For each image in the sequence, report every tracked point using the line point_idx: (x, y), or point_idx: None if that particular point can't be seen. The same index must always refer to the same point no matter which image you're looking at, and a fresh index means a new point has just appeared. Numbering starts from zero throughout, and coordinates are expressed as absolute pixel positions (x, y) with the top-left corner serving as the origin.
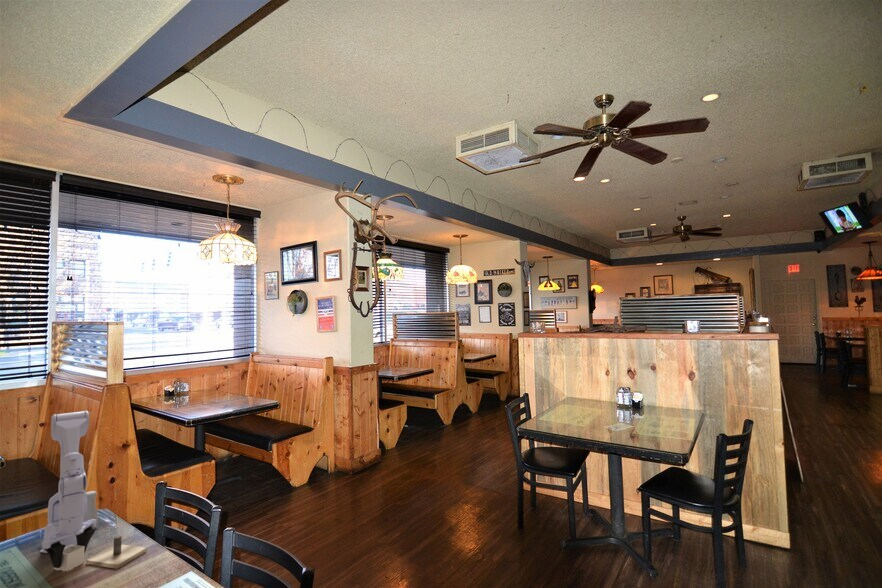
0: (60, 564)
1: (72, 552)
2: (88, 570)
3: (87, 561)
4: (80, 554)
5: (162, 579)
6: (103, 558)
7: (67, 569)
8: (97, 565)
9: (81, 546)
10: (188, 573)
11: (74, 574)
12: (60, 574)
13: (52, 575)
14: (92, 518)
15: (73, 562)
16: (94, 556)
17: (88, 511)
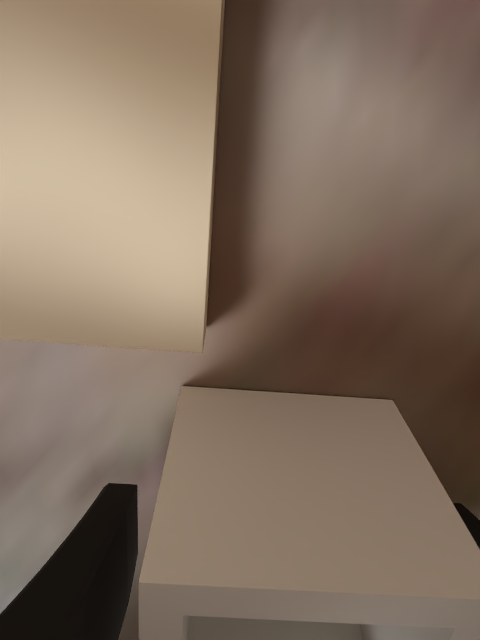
0: (469, 526)
1: (405, 589)
2: (350, 137)
3: (203, 322)
4: (227, 482)
5: None
6: (96, 98)
7: (396, 412)
8: (217, 109)
9: (166, 619)
10: None
11: (453, 252)
12: (445, 419)
13: (462, 479)
14: None
15: (332, 439)
16: (89, 321)
17: None
